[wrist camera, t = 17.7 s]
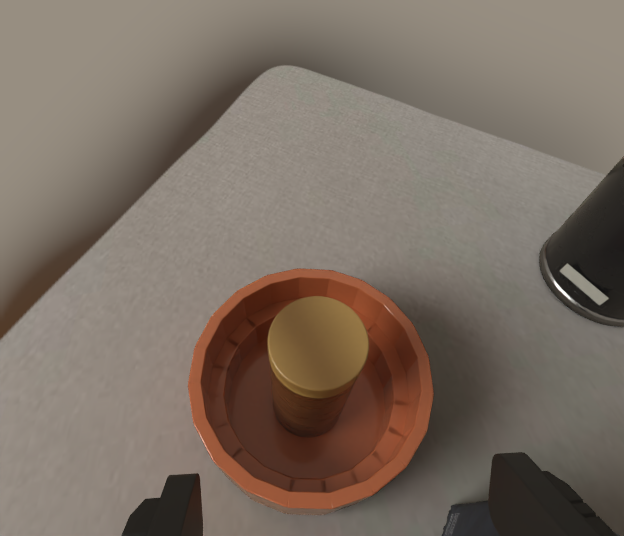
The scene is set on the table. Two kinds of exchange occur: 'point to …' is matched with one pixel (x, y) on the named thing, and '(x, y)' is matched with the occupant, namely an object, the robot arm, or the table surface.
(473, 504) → the small box
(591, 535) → the robot arm
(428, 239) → the table surface
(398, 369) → the bowl
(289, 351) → the spice jar
